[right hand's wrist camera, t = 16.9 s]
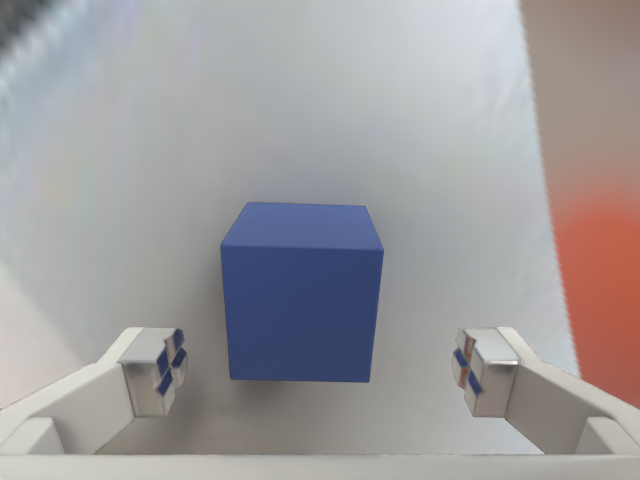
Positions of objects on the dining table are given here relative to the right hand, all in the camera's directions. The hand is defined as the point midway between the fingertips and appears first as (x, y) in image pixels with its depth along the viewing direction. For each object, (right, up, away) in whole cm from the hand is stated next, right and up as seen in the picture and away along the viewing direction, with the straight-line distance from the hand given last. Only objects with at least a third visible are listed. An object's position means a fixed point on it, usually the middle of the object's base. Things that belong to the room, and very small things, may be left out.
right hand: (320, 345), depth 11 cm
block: (-1, +2, +4) cm, 5 cm away
